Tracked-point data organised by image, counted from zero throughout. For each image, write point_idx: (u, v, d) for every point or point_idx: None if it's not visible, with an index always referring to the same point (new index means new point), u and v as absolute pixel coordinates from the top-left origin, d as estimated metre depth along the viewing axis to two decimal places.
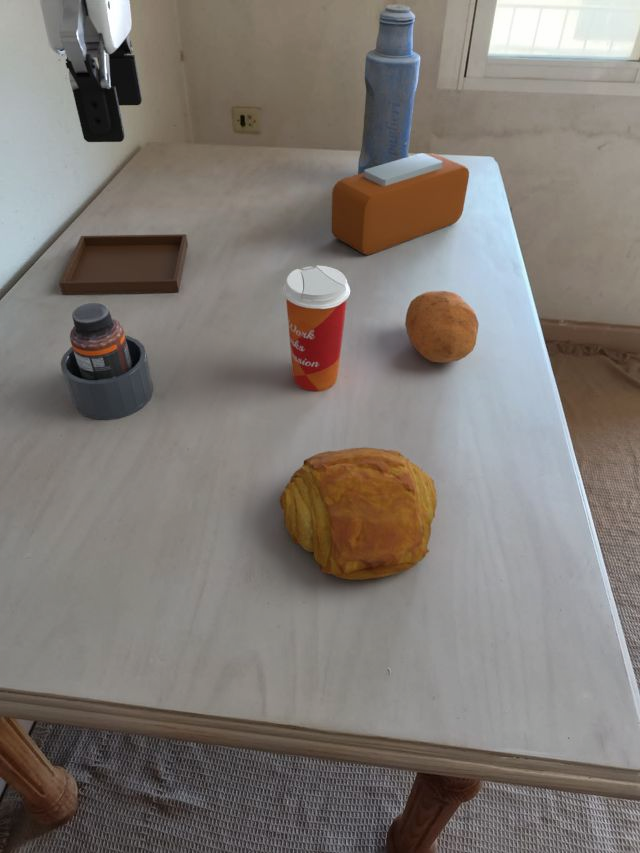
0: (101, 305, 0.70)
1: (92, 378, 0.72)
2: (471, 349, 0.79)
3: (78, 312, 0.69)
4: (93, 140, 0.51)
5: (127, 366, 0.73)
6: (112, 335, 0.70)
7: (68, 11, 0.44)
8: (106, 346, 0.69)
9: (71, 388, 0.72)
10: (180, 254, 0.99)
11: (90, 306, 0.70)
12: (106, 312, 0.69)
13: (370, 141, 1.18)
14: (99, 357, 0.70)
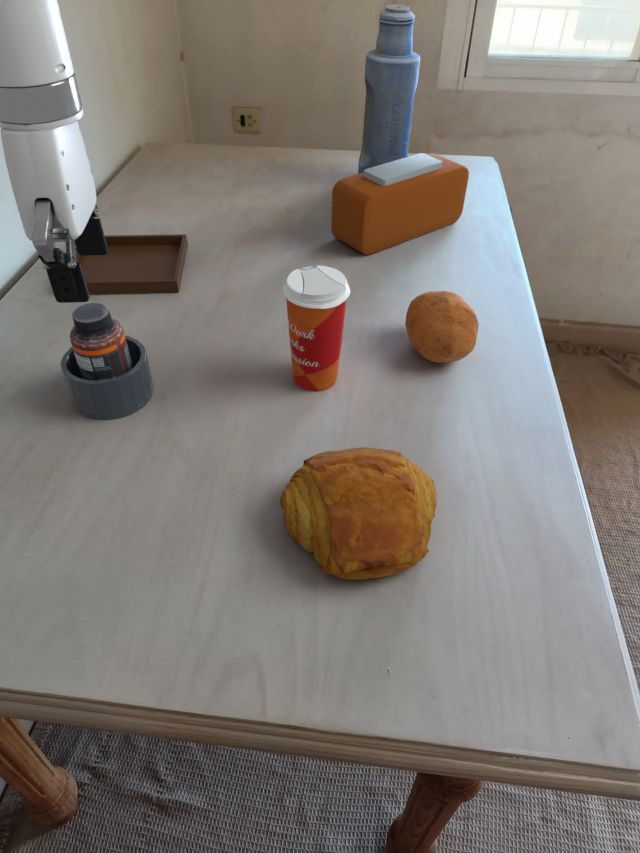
0: (101, 305, 0.70)
1: (92, 378, 0.72)
2: (471, 349, 0.79)
3: (78, 312, 0.69)
4: (63, 301, 0.62)
5: (127, 366, 0.73)
6: (112, 335, 0.70)
7: (39, 220, 0.55)
8: (106, 346, 0.69)
9: (71, 388, 0.72)
10: (180, 254, 0.99)
11: (90, 306, 0.70)
12: (106, 312, 0.69)
13: (370, 141, 1.18)
14: (99, 357, 0.70)
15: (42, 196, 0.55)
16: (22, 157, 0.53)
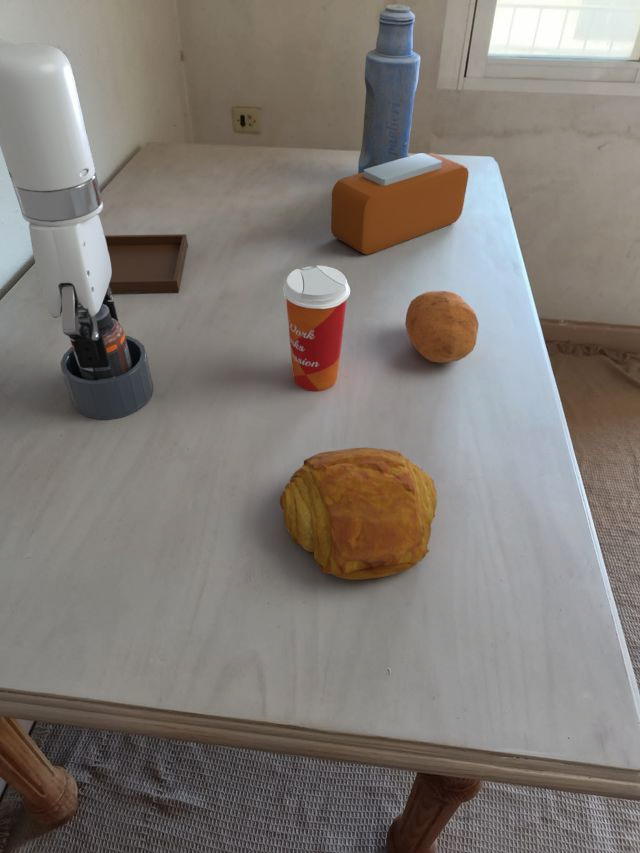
0: (101, 305, 0.70)
1: (92, 378, 0.72)
2: (471, 349, 0.79)
3: None
4: (86, 367, 0.70)
5: (127, 366, 0.73)
6: (112, 335, 0.70)
7: (66, 310, 0.62)
8: (106, 346, 0.69)
9: (71, 388, 0.72)
10: (180, 254, 0.99)
11: None
12: (106, 312, 0.69)
13: (370, 141, 1.18)
14: None
15: (65, 281, 0.61)
16: (48, 249, 0.59)
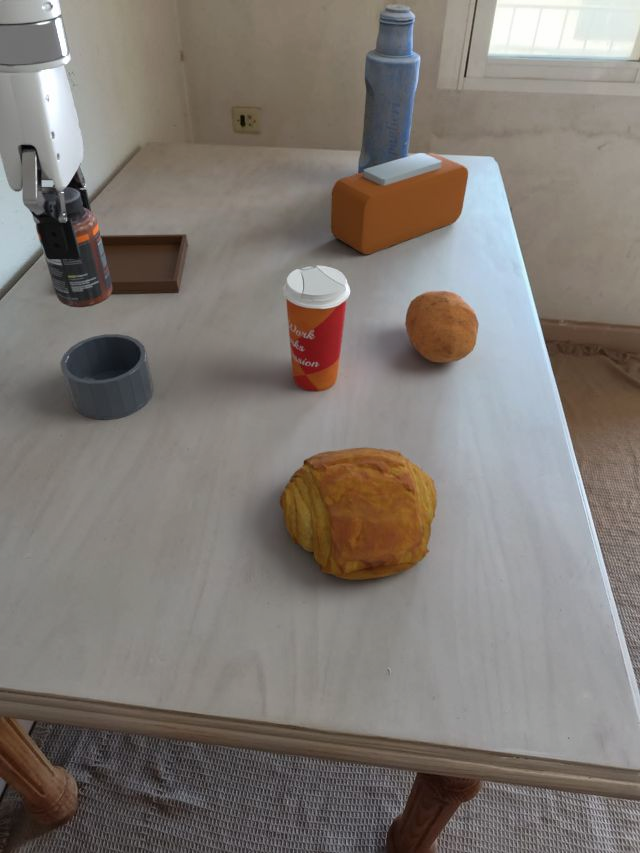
0: (71, 189, 0.62)
1: (61, 274, 0.64)
2: (471, 349, 0.79)
3: (45, 195, 0.61)
4: (54, 258, 0.62)
5: (101, 264, 0.65)
6: (83, 223, 0.62)
7: (27, 177, 0.54)
8: (76, 235, 0.62)
9: (71, 388, 0.72)
10: (180, 254, 0.99)
11: None
12: (77, 195, 0.61)
13: (370, 141, 1.18)
14: None
15: (26, 143, 0.53)
16: (5, 100, 0.51)
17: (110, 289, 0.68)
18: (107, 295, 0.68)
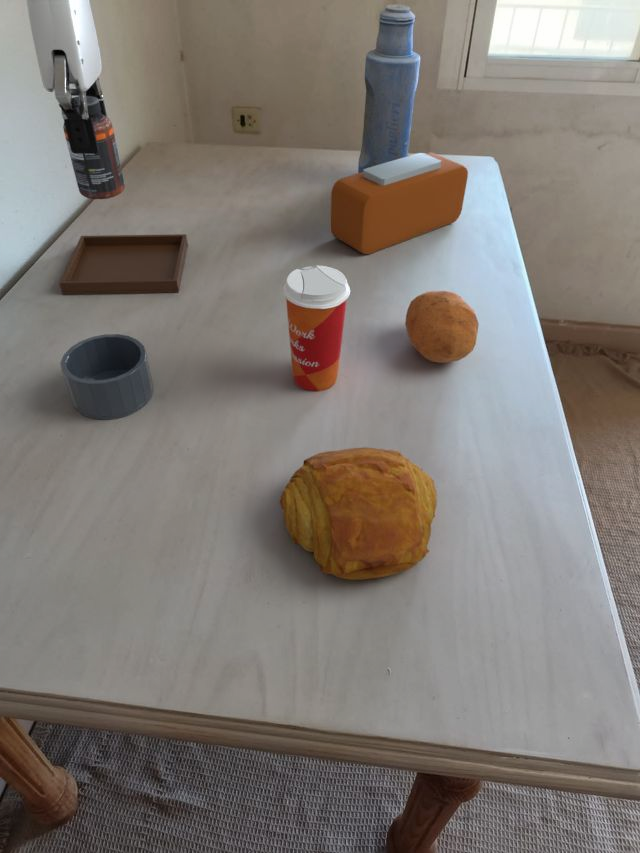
0: (92, 97, 0.77)
1: (83, 168, 0.79)
2: (471, 349, 0.79)
3: None
4: (77, 152, 0.77)
5: (115, 162, 0.80)
6: (101, 123, 0.77)
7: (58, 76, 0.69)
8: (96, 133, 0.76)
9: (71, 388, 0.72)
10: (180, 254, 0.99)
11: None
12: (96, 101, 0.76)
13: (370, 141, 1.18)
14: None
15: (57, 48, 0.68)
16: (42, 12, 0.66)
17: (122, 186, 0.83)
18: (120, 190, 0.83)
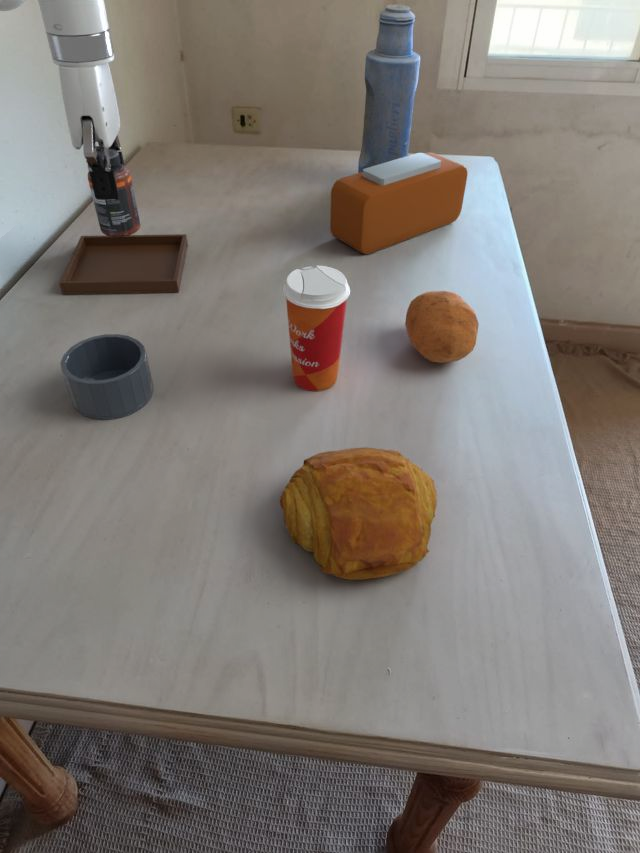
0: (112, 150, 0.88)
1: (105, 211, 0.90)
2: (471, 349, 0.79)
3: None
4: (100, 198, 0.88)
5: (132, 204, 0.92)
6: (121, 173, 0.88)
7: (86, 137, 0.80)
8: (116, 181, 0.88)
9: (71, 388, 0.72)
10: (180, 254, 0.99)
11: None
12: (116, 154, 0.87)
13: (370, 141, 1.18)
14: None
15: (85, 114, 0.79)
16: (73, 85, 0.77)
17: (139, 224, 0.94)
18: (137, 228, 0.94)
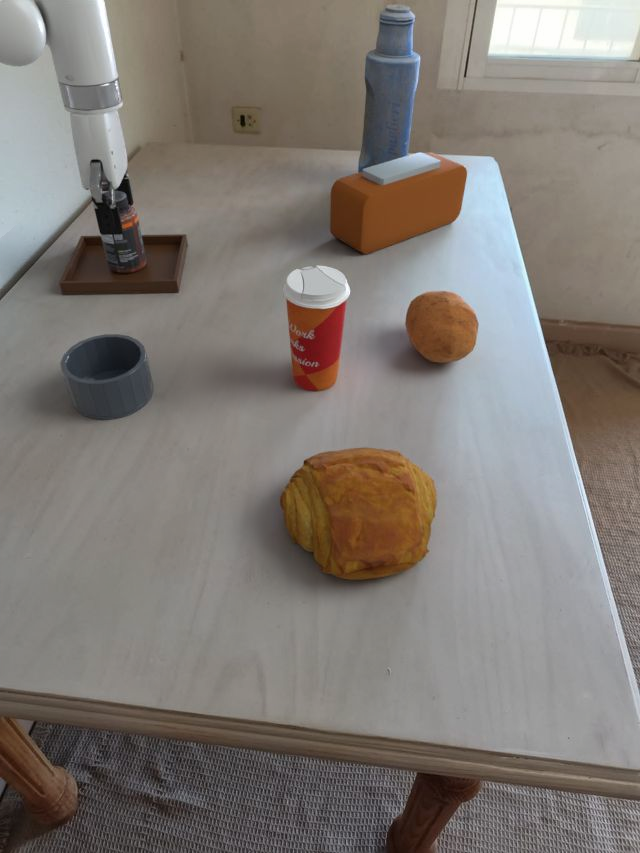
0: (120, 192, 0.92)
1: (113, 250, 0.94)
2: (471, 349, 0.79)
3: None
4: (105, 233, 0.90)
5: (139, 243, 0.96)
6: (129, 214, 0.92)
7: (93, 174, 0.83)
8: (124, 222, 0.92)
9: (71, 388, 0.72)
10: (180, 254, 0.99)
11: None
12: (124, 196, 0.91)
13: (370, 141, 1.18)
14: None
15: (95, 158, 0.83)
16: (84, 131, 0.81)
17: (145, 261, 0.98)
18: (143, 265, 0.98)
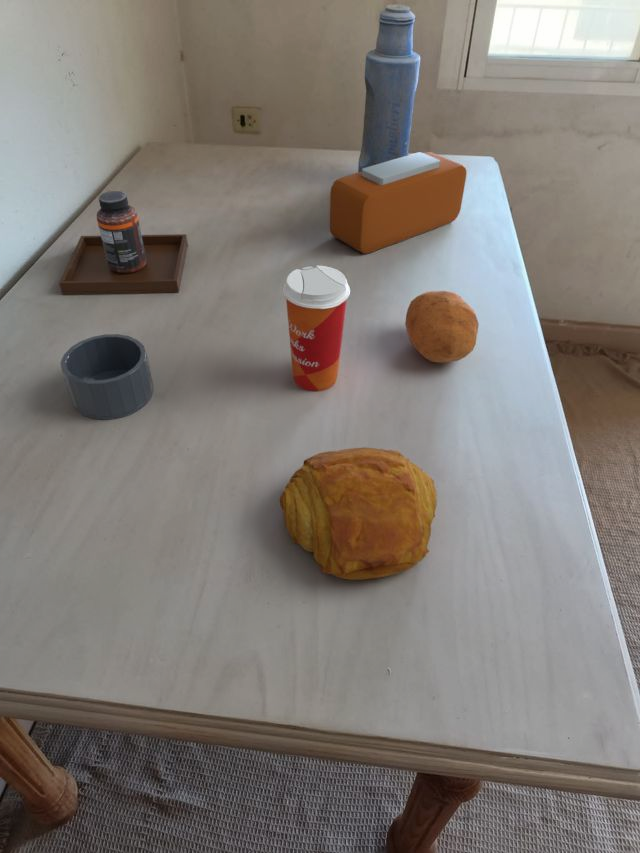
0: (120, 192, 0.92)
1: (113, 250, 0.94)
2: (471, 349, 0.79)
3: (103, 196, 0.91)
4: None
5: (139, 243, 0.96)
6: (129, 214, 0.92)
7: None
8: (124, 222, 0.92)
9: (71, 388, 0.72)
10: (180, 254, 0.99)
11: (112, 192, 0.92)
12: (124, 196, 0.91)
13: (370, 141, 1.18)
14: (119, 231, 0.92)
15: None
16: None
17: (145, 261, 0.98)
18: (143, 265, 0.98)
